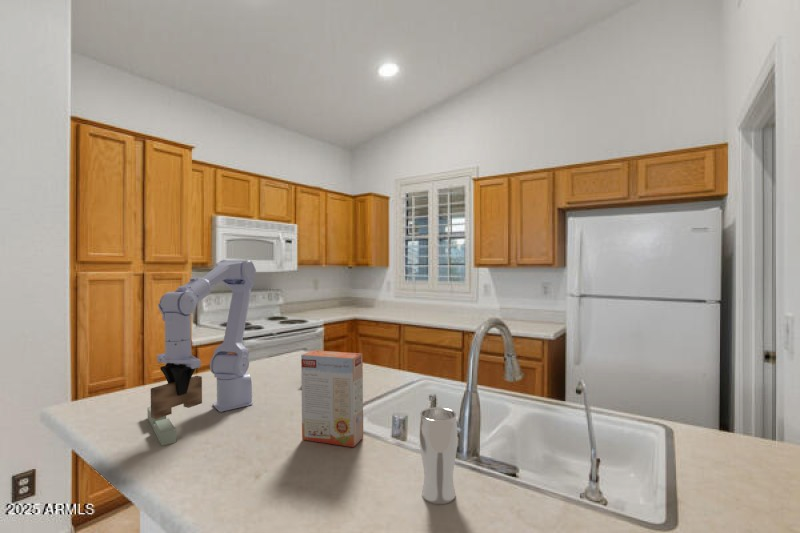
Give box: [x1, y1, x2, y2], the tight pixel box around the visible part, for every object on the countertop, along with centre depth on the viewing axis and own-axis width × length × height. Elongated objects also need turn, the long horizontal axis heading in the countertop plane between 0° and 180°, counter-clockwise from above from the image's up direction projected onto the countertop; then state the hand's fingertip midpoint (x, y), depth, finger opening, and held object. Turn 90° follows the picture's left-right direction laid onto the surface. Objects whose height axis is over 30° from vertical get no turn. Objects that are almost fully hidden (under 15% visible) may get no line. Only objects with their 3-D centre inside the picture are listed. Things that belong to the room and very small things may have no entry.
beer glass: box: [418, 406, 458, 505], centre depth 73 cm, size 7×7×15 cm
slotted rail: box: [147, 406, 177, 447], centre depth 103 cm, size 3×22×3 cm, turn 40°
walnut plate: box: [150, 375, 203, 419], centre depth 100 cm, size 12×2×7 cm, turn 152°
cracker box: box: [300, 349, 364, 448], centre depth 97 cm, size 14×6×21 cm, turn 71°
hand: (178, 393), depth 100 cm, fingers closed on walnut plate, 2 cm apart
